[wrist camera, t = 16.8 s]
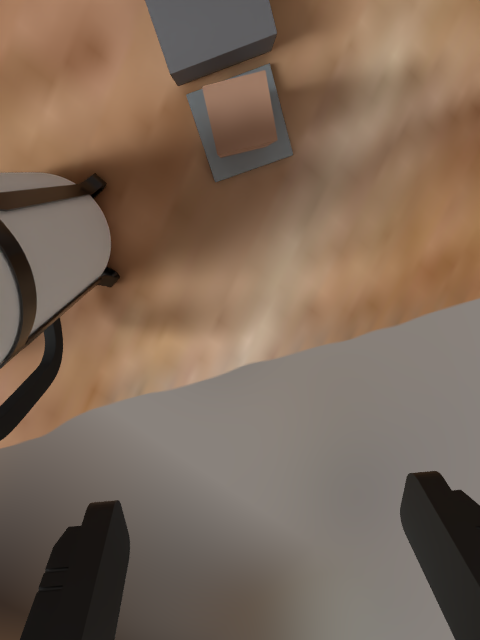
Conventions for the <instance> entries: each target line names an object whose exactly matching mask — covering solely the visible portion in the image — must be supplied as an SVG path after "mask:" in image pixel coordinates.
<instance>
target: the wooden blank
mask: <svg viewBox="0 0 480 640" xmlns="http://www.w3.org/2000/svg"><path fill="white" fill-rule="evenodd" d="M202 89H203V94H204V98H205V103H206V107H207V111H208V116H209V120H210V124H211V129H212V133H213V138H214V142H215V146H216V151H217V155H218V156H219V157H220V158H223V157H227V156H231V155H235V154H239V153H243V152H247V151H251V150H255V149H259V148H263V147H267V146H268V145H270V144H272V143H274V142H275V141H277V140H278V139H277V133H276V127H275V122H274V116H273V110H272V105H271V99H270V93H269V88H268V82H267V76H266V70H263V71H260V72H256V73H252V74H248V75H244V76H240V77H236V78H232V79H228V80H224V81H221V82H217V83H213V84H209V85H205V86H202Z"/></svg>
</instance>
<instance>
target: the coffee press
mask: <svg viewBox="0 0 480 640" xmlns="http://www.w3.org/2000/svg"><path fill="white" fill-rule="evenodd" d="M106 184H107V183H106V182H105V181H103V180H102V179H101V178H100V177H99V176H98V175H97V174H96V173H95V174H93V175H92V176H90V177H89V178H88V179H86V180H85V181H84V182H82V183H80V184H75V183H73V182H72V181H70V180H68V179H65V178H63V177H60V176H57V175H54V174H49V173H39V172H15V173H0V369H1V368H2V367H3V366H4V365H5V364H6V363H8V362H9V361H10V360H11V359H12V358H13V357H14V356H15V355H17V354H18V353H19V352H20V351H21V350H22V349H24V348H25V347H26V346H27V345H29V344H30V343H31V342H32V341H33V340H34V339H35V338H37V337H38V336H39V335H40V334H41V333H42V332H43V331H44V335H45V351H44V355H43V358H42V361H41V363H40V365H39V366H38V367H37V369H36V370H35V371H34V372H33V373H32V374H31V375H30V376H29V377H28V378H27V379H26V380H25V381H24V382H23V383H22V384H21V385H20V387H19V388H18V389H17V390H16V391H15V392H14V393H13V394H12V395H11V396H10V397H9V398H8V399H7V400H6V401H5V402H4V403H3V404H2V405H1V406H0V441H1V440H2V439H4V438H5V437H6V436H7V435H8V434H9V433H10V432H11V431H12V430H13V429H14V428H15V427H16V426H17V425H18V424H19V423H20V421H21V420H22V419H23V418H24V417H25V416H26V414H27V413H28V412H29V411H30V410H31V408H32V407H33V406H34V405H35V404H36V402H37V401H38V400H39V399H40V397H41V396H42V395H43V394H44V393H45V391H46V390H47V389H48V387H49V386H50V385H51V383H52V382H53V380H54V379H55V377H56V375H57V373H58V370H59V368H60V364H61V360H62V353H63V337H62V328H61V322H60V316H62V315H63V314H64V313H65V312H66V311H67V310H68V309H70V308H71V307H72V306H73V305H74V304H75V303H76V302H78V301H79V300H80V299H81V298H82V297H83V296H84V295H86V294H87V293H88V292H89V291H90V290H91V289H92V288H94V287H95V286H97V285H102V286H107V287H112V286H113V285H114V284H115V283H116V282H117V280H118V279H119V278H120V276H119V275H118V273H117V272H116V271H114V270H113V269H111V268H108V267H106V266H107V263H108V261H109V257H110V252H111V236H110V230H109V226H108V223H107V221H106V218H105V216H104V214H103V212H102V210H101V209H100V207H99V206H98V204H97V203H96V202H95V200H94V198H95V197H96V196H97V195H98V194H99V193H100V192H101V191H102V190H103V189H104V188H105V186H106ZM99 277H100V278H99ZM5 359H6V360H5ZM4 360H5V361H4ZM3 361H4V362H3ZM2 362H3V363H2Z"/></svg>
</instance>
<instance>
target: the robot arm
mask: <svg viewBox="0 0 480 640" xmlns="http://www.w3.org/2000/svg"><path fill="white" fill-rule="evenodd" d="M400 517H401V522H402V526H403V529H404V532H405V534H406V536H407V538H408V540H409V543H410V545H411V547H412V549H413V551H414V553H415V555H416V557H417V559H418V562H419V563H420V566H421V568H422V570H423V572H424V574H425V576H426V579H427V581H428V583H429V585H430V587H431V589H432V591H433V593H434V595H435V597H436V600H437V602H438V604H439V606H440V608H441V610H442V612H443V615H444V617H445V619H446V621H447V623H448V625H449V627H450V629H451V631H452V634H453V636H454V638H455V640H480V505H478V504H477V503H476V502H475V501H474V500H472V499H471V498H470V497H469V496H468V495H466V494H465V493H464V492H463V491H462V490H454V491H452V490H451V489H450V487H449V486H448V484H447V483H446V481H445V479H444V478H443V477H442V475H441V474H440V473H438V472H437V471H430V472H418V473H410V474H408V476H407V479H406V483H405V488H404V493H403V498H402V503H401V508H400ZM129 554H130V539H129V533H128V529H127V526H126V522H125V518H124V514H123V511H122V507H121V503H120V502H119V501H118V500H116V501H105V502H94V503H90V504H89V506H88V507H87V510H86V513H85V516H84V520H83V522H82V526H74V527H68V528H67V529H66V531H65V532H64V534H63V535H62V536H61V537H60V539H59V540H58V542H57V543H56V544H55V546H54V547H53V550H52V552H51V555H50V558H49V561H48V563H47V566H46V571H45V573H44V575H43V577H42V580H41V583H40V585H39V591H38V592H37V594H36V596H35V599H34V602H33V605H32V607H31V610H30V613H29V616H28V619H27V621H26V624H25V627H24V630H23V632H22V635H21V638H20V640H114V639H115V634H116V628H117V622H118V617H119V612H120V606H121V601H122V594H123V590H124V584H125V578H126V573H127V567H128V562H129Z"/></svg>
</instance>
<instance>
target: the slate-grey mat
mask: <svg viewBox="0 0 480 640" xmlns="http://www.w3.org/2000/svg"><path fill="white" fill-rule="evenodd" d="M263 70H266V76H267V82H268V88H269V93H270V99H271V105H272V110H273V116H274V122H275V127H276V133H277V139H278V140H277V141H275V142H274V143H272V144H270V145H268V146H267V147H263V148H259V149H255V150H251V151H247V152H243V153H239V154H235V155H231V156H227V157H223V158H220V157H219V156H218V155H217V151H216V146H215V142H214V138H213V133H212V129H211V124H210V120H209V116H208V111H207V107H206V103H205V98H204V94H203V89H200V90H197V91H195V92H192V93H189V94H187V95H186V96H187V99H188V102H189V105H190V108H191V111H192V114H193V117H194V120H195V123H196V126H197V129H198V132H199V135H200V138H201V141H202V144H203V147H204V150H205V153H206V156H207V159H208V162H209V165H210V168H211V171H212V174H213V177H214V180H215V182H218V181H221V180H223V179H226V178H229V177H232V176H235V175H238V174H241V173H243V172H246V171H249V170H252V169H255V168H258V167H260V166H263V165H266V164H269V163H272V162H275V161H278V160H280V159H283V158H286V157H289V156H292V155H293V152H292V148H291V144H290V140H289V137H288V133H287V129H286V125H285V121H284V117H283V113H282V110H281V106H280V102H279V98H278V94H277V90H276V86H275V83H274V79H273V75H272V71H271V67H270V63H269V64H267V65H264V66H261V67H259V68H256V69H253V70H251V71H248V72H245V73H243V74H240V75H237V76H235V77H232V78H236V77H240V76H244V75H248V74H252V73H256V72H260V71H263ZM232 78H229V79H232ZM227 80H228V79H227Z"/></svg>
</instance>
